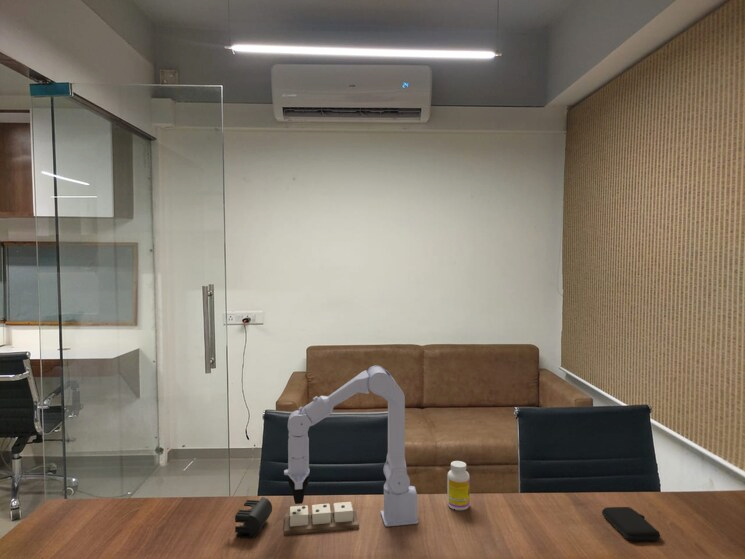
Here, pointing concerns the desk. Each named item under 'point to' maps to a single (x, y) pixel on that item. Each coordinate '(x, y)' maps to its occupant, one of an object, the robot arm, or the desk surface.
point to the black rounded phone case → (631, 524)
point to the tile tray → (320, 525)
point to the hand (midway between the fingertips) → (298, 502)
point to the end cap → (252, 518)
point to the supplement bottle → (458, 486)
